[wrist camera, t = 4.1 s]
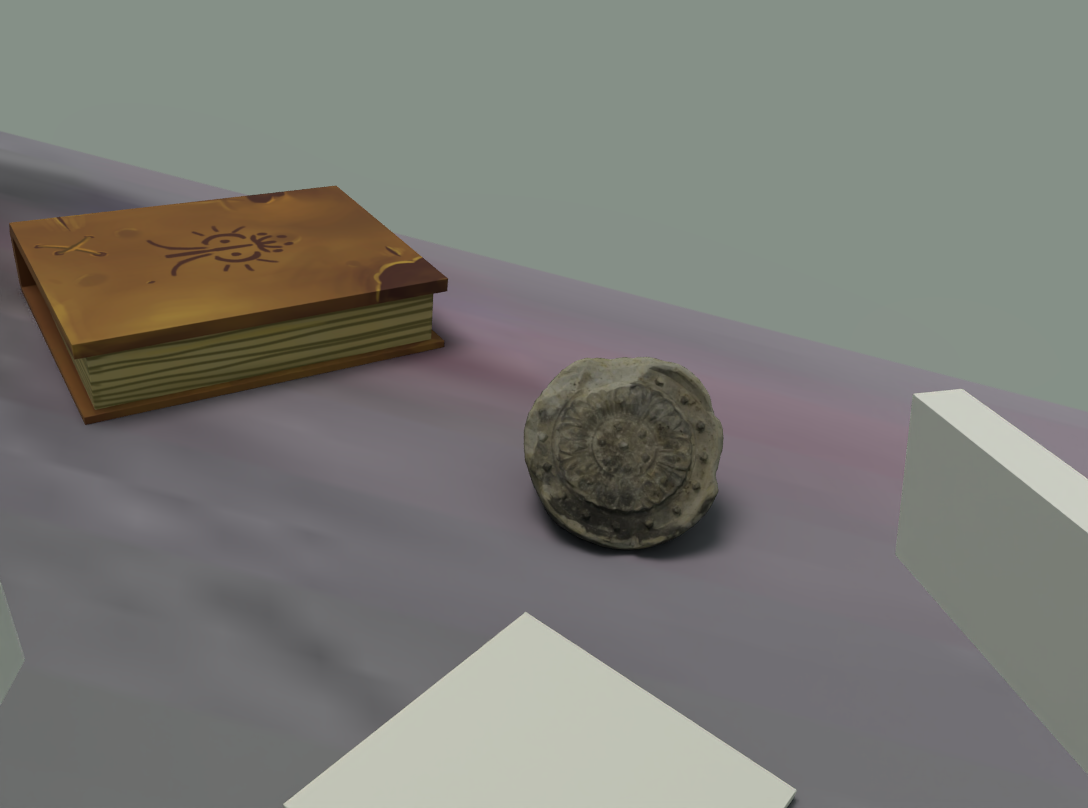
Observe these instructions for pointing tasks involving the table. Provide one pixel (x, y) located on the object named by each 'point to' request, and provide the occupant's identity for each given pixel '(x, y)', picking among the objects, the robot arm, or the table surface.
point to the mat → (541, 742)
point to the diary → (220, 296)
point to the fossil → (624, 450)
